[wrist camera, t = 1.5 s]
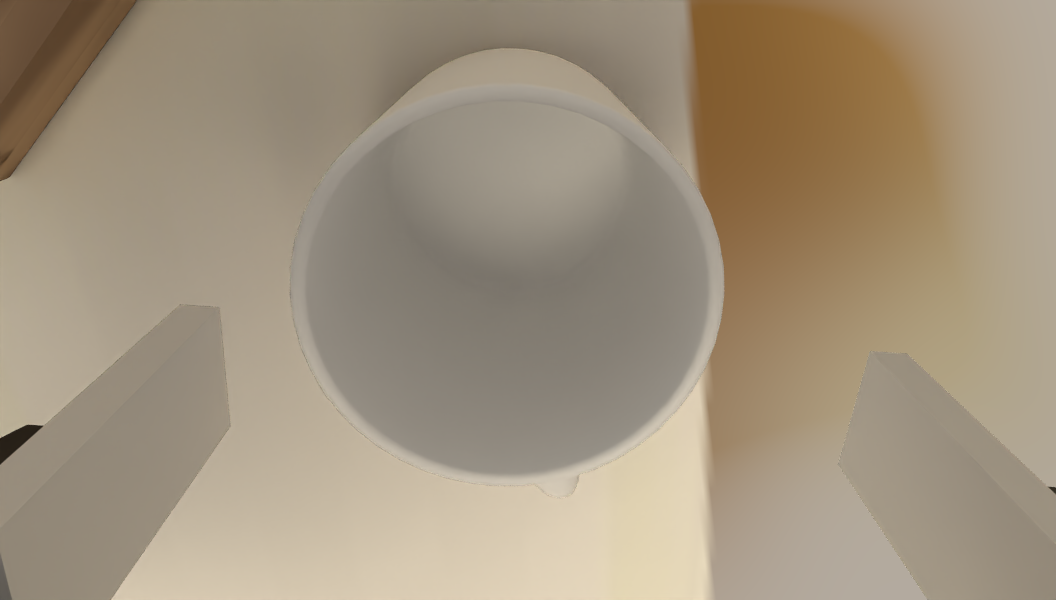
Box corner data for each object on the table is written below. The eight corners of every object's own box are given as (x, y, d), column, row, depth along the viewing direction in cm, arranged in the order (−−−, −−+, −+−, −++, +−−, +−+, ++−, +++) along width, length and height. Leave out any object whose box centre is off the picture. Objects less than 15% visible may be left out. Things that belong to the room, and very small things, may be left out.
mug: (439, 401, 28) (396, 629, 18) (348, 74, 23) (223, 135, 13) (666, 361, 27) (753, 572, 17) (620, 19, 23) (703, 38, 13)
